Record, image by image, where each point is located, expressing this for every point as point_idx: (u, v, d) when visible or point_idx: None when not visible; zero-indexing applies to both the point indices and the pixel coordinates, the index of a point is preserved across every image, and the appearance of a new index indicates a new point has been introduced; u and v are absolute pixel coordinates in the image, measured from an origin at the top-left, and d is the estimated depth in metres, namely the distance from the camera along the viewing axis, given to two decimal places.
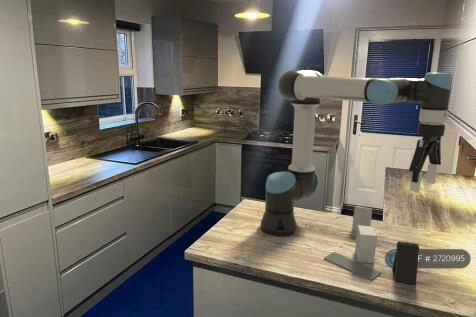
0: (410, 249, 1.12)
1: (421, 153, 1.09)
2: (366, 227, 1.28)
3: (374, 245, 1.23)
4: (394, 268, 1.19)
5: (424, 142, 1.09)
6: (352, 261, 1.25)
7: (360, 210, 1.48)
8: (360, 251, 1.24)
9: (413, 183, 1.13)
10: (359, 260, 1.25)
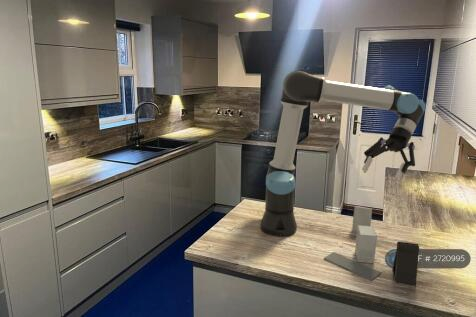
0: (410, 249, 1.12)
1: (413, 153, 1.37)
2: (366, 227, 1.28)
3: (374, 245, 1.23)
4: (394, 268, 1.19)
5: (414, 146, 1.39)
6: (352, 261, 1.25)
7: (360, 209, 1.48)
8: (360, 251, 1.24)
9: (400, 172, 1.34)
10: (359, 260, 1.25)
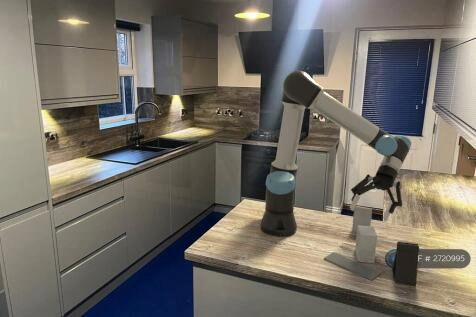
0: (410, 249, 1.12)
1: (400, 193, 1.37)
2: (366, 227, 1.28)
3: (374, 245, 1.23)
4: (394, 268, 1.19)
5: (401, 185, 1.39)
6: (352, 261, 1.25)
7: (360, 209, 1.48)
8: (360, 251, 1.24)
9: (388, 213, 1.34)
10: (359, 260, 1.25)
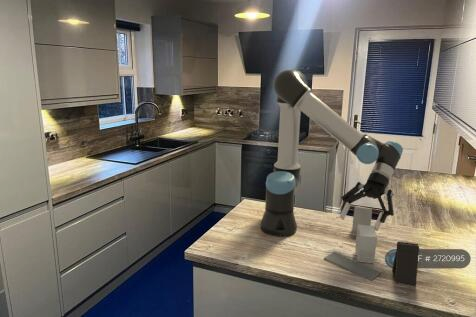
0: (410, 249, 1.12)
1: None
2: (366, 227, 1.27)
3: (374, 246, 1.22)
4: (394, 268, 1.19)
5: (392, 193, 1.34)
6: (352, 261, 1.25)
7: (360, 210, 1.48)
8: (360, 252, 1.24)
9: (379, 222, 1.29)
10: (359, 260, 1.25)
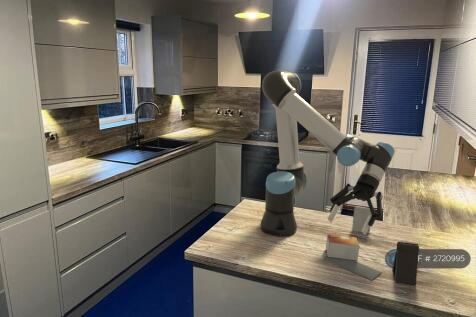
0: (410, 249, 1.12)
1: (381, 204, 1.28)
2: None
3: (339, 245, 1.25)
4: (394, 268, 1.19)
5: (382, 196, 1.30)
6: (352, 261, 1.25)
7: (360, 209, 1.48)
8: (346, 257, 1.26)
9: (367, 226, 1.25)
10: (356, 259, 1.25)
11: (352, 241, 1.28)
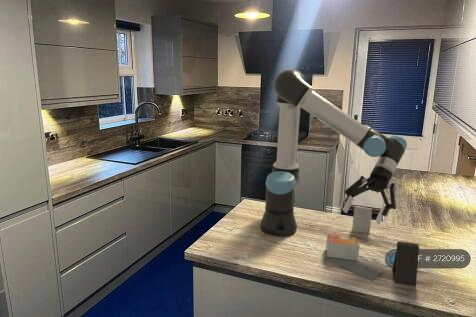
0: (410, 249, 1.12)
1: (394, 195, 1.33)
2: None
3: (339, 245, 1.25)
4: (394, 268, 1.19)
5: (395, 187, 1.35)
6: (352, 261, 1.25)
7: (360, 209, 1.48)
8: (346, 257, 1.26)
9: (381, 215, 1.30)
10: (356, 259, 1.25)
11: (352, 241, 1.28)
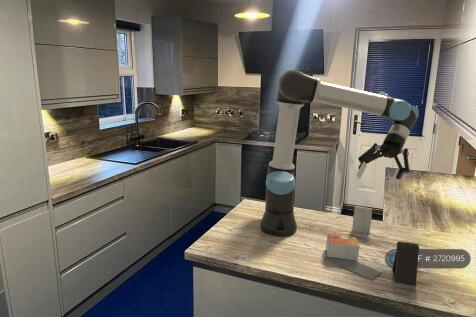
0: (410, 249, 1.12)
1: None
2: None
3: (339, 245, 1.25)
4: (394, 268, 1.19)
5: (408, 152, 1.39)
6: (352, 261, 1.25)
7: (360, 209, 1.48)
8: (346, 257, 1.26)
9: (395, 178, 1.34)
10: (356, 259, 1.25)
11: (352, 241, 1.28)
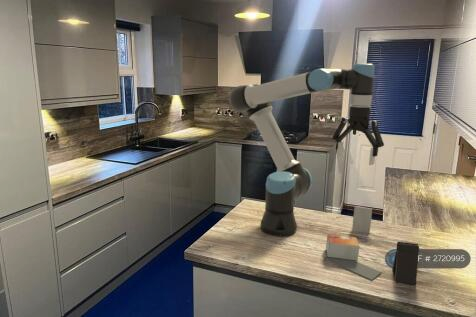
0: (410, 249, 1.12)
1: (378, 131, 1.31)
2: None
3: (339, 245, 1.25)
4: (394, 268, 1.19)
5: (377, 121, 1.31)
6: (352, 261, 1.25)
7: (360, 209, 1.48)
8: (346, 257, 1.26)
9: (372, 157, 1.33)
10: (356, 259, 1.25)
11: (352, 241, 1.28)
